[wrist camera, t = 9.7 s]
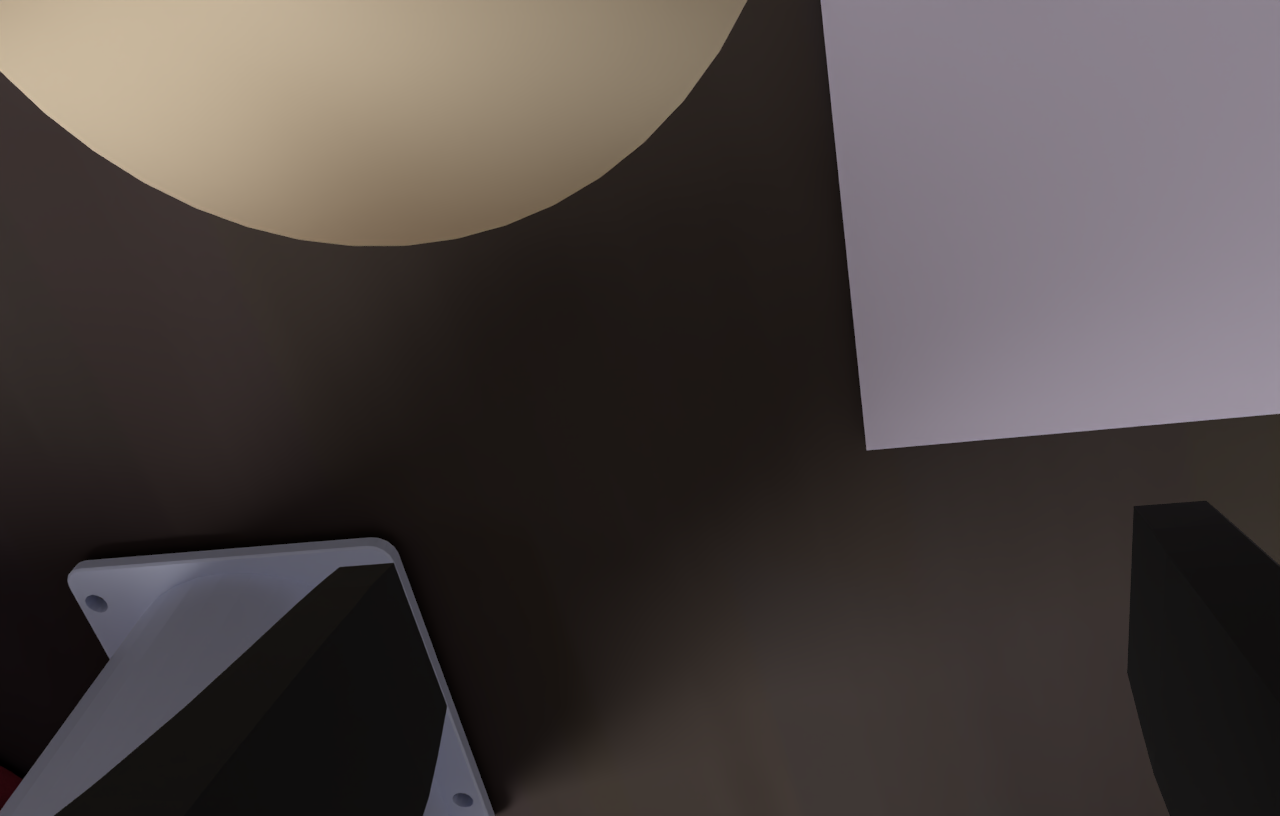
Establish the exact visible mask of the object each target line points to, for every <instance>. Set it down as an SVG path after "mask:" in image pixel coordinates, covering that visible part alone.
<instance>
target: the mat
mask: <svg viewBox="0 0 1280 816" xmlns="http://www.w3.org/2000/svg"><path fill="white" fill-rule="evenodd" d="M821 10H822V19H823V29H824V39H825V49H826V58H827V68H828V78H829V88H830V97H831V107H832V117H833V127H834V137H835V146H836V156H837V166H838V176H839V185H840V195H841V205H842V215H843V224H844V234H845V244H846V254H847V264H848V273H849V283H850V293H851V303H852V312H853V322H854V332H855V342H856V351H857V361H858V371H859V381H860V391H861V400H862V410H863V420H864V430H865V439H866V449H867V450H877V449H888V448H900V447H911V446H922V445H933V444H944V443H956V442H967V441H978V440H989V439H1000V438H1012V437H1023V436H1034V435H1045V434H1056V433H1068V432H1079V431H1090V430H1101V429H1113V428H1124V427H1135V426H1146V425H1157V424H1169V423H1180V422H1191V421H1202V420H1213V419H1225V418H1236V417H1247V416H1258V415H1269V414H1280V0H821Z"/></svg>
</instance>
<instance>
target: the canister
mask: <svg viewBox="0 0 1280 816" xmlns="http://www.w3.org/2000/svg"><path fill="white" fill-rule="evenodd" d="M22 780H23V779H22V778H21V777H19V776H17V775H16V774H14V773H13V772H11V771H9V770H8V769H6V768H4V767H2V766H1V765H0V810H1V809H2V808H3V806H4V805H5V804H6V802H7V801H8V799H9V798H10V797H11V795H12V794H13V793H14V791H15V790H16V788H17V787H18V786H19V784H20V783H21V781H22Z"/></svg>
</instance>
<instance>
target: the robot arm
mask: <svg viewBox="0 0 1280 816" xmlns="http://www.w3.org/2000/svg"><path fill="white" fill-rule="evenodd" d="M67 582H68V585H69V588H70V589H71V591H72V593H73V595H74V596H75V598H76V600H77V602H78V604H79V605H80V607H81V609H82V611H83V612H84V614H85V616H86V618H87V620H88V621H89V623H90V625H91V627H92V628H93V630H94V632H95V634H96V636H97V637H98V639H99V641H100V643H101V645H102V646H103V648H104V650H105V652H106V653H107V655H108V657H109V659H110V660H109V661H108V663H107V664H106V665H105V667H104V668H103V670H102V671H101V672H100V674H99V675H98V677H97V678H96V679H95V681H94V682H93V683H92V685H91V686H90V688H89V689H88V690H87V692H86V693H85V694H84V696H83V697H82V699H81V700H80V701H79V703H78V704H77V706H76V707H75V708H74V710H73V711H72V712H71V714H70V715H69V717H68V718H67V719H66V721H65V722H64V723H63V725H62V726H61V728H60V729H59V730H58V732H57V733H56V735H55V736H54V737H53V739H52V740H51V741H50V743H49V744H48V746H47V747H46V748H45V750H44V751H43V752H42V754H41V755H40V757H39V758H38V759H37V761H36V762H35V764H34V765H33V766H32V768H31V769H30V770H29V772H28V773H27V775H26V776H25V777H24V779H23V780H22V781H21V783H20V784H19V786H18V787H17V788H16V790H15V791H14V793H13V794H12V795H11V797H10V798H9V799H8V801H7V802H6V804H5V805H4V806H3V808H2V809H1V810H0V816H495V814H494V811H493V809H492V806H491V803H490V800H489V798H488V795H487V792H486V790H485V787H484V784H483V781H482V779H481V776H480V773H479V771H478V768H477V765H476V762H475V760H474V757H473V754H472V752H471V749H470V746H469V743H468V741H467V738H466V735H465V732H464V730H463V727H462V724H461V722H460V719H459V716H458V713H457V711H456V708H455V705H454V703H453V700H452V697H451V694H450V692H449V689H448V686H447V684H446V681H445V678H444V675H443V673H442V670H441V667H440V665H439V662H438V659H437V656H436V654H435V651H434V648H433V646H432V643H431V640H430V637H429V635H428V632H427V629H426V627H425V624H424V621H423V618H422V616H421V613H420V610H419V608H418V605H417V602H416V599H415V597H414V594H413V591H412V589H411V586H410V583H409V580H408V578H407V575H406V572H405V570H404V567H403V564H402V561H401V559H400V556H399V553H398V552H397V550H396V549H395V547H394V546H393V545H392V544H390V543H389V542H388V541H386V540H383V539H381V538H374V537H367V538H355V539H342V540H330V541H318V542H305V543H293V544H281V545H268V546H256V547H244V548H232V549H219V550H207V551H195V552H182V553H170V554H158V555H146V556H133V557H121V558H109V559H96V560H86V561H82V562H79V563H78V564H77V565H76V566H75V567H74V569H73V570H72V571H71V572H70V573H69V574H68V579H67ZM98 596H99V597H101V598H103V599H104V600H103V599H101V598H99V597H98ZM1127 673H1128V677H1129V681H1130V685H1131V689H1132V693H1133V697H1134V701H1135V705H1136V709H1137V712H1138V716H1139V720H1140V724H1141V728H1142V732H1143V736H1144V739H1145V743H1146V747H1147V750H1148V754H1149V758H1150V762H1151V765H1152V769H1153V773H1154V775H1155V778H1156V781H1157V783H1158V786H1159V788H1160V791H1161V794H1162V796H1163V799H1164V801H1165V804H1166V807H1167V809H1168V812H1169V814H1170V816H1280V565H1279V564H1278V563H1276V562H1275V561H1274V560H1273V559H1272V558H1271V557H1270V556H1269V555H1267V554H1266V553H1265V552H1264V551H1263V550H1262V549H1261V548H1260V547H1258V546H1257V545H1256V544H1255V543H1254V542H1253V541H1252V540H1251V539H1249V538H1248V537H1247V536H1246V535H1245V534H1244V533H1243V532H1242V531H1241V530H1239V529H1238V528H1237V527H1236V526H1235V525H1234V524H1233V523H1232V522H1230V521H1229V520H1228V519H1227V518H1226V517H1225V516H1224V515H1222V514H1221V513H1220V512H1219V511H1218V510H1217V509H1215V508H1214V507H1213V506H1212V505H1211V504H1209V503H1208V502H1207V501H1198V502H1184V503H1171V504H1158V505H1145V506H1134V517H1133V542H1132V568H1131V593H1130V619H1129V644H1128V670H1127ZM463 793H464V794H463Z"/></svg>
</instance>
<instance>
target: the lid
mask: <svg viewBox="0 0 1280 816" xmlns="http://www.w3.org/2000/svg"><path fill="white" fill-rule="evenodd" d="M746 2H747V0H0V71H1V72H2V73H3V74H4V75H5V76H6V77H7V78H8V79H9V80H10V81H11V82H12V83H13V84H14V85H16V86H17V87H18V88H19V89H20V90H21V91H22V92H23V93H24V94H25V95H26V96H27V97H28V98H29V99H30V100H31V101H33V102H34V103H35V104H36V105H37V106H38V107H39V108H40V109H41V110H42V111H43V112H44V113H45V114H47V115H48V116H49V117H50V118H52V119H53V120H54V121H56V122H57V123H58V124H59V125H61V126H62V127H63V128H65V129H66V130H67V131H69V132H70V133H71V134H72V135H74V136H75V137H76V138H78V139H79V140H80V141H81V142H83V143H84V144H85V145H87V146H88V147H89V148H90V149H92V150H93V151H94V152H96V153H98V154H99V155H101V156H102V157H104V158H106V159H107V160H109V161H110V162H112V163H114V164H115V165H117V166H118V167H120V168H122V169H123V170H125V171H126V172H128V173H129V174H131V175H133V176H134V177H136V178H137V179H139V180H141V181H142V182H144V183H146V184H148V185H150V186H152V187H154V188H156V189H158V190H160V191H162V192H164V193H166V194H168V195H170V196H172V197H174V198H176V199H178V200H180V201H182V202H184V203H186V204H188V205H190V206H192V207H194V208H197V209H200V210H202V211H205V212H208V213H211V214H213V215H216V216H219V217H221V218H224V219H227V220H230V221H232V222H235V223H238V224H241V225H243V226H246V227H250V228H254V229H258V230H262V231H266V232H270V233H274V234H278V235H283V236H287V237H291V238H295V239H299V240H306V241H315V242H323V243H331V244H340V245H348V246H407V245H415V244H422V243H430V242H437V241H445V240H452V239H458V238H462V237H465V236H469V235H473V234H476V233H480V232H484V231H487V230H491V229H495V228H498V227H502V226H506V225H508V224H511V223H513V222H515V221H518V220H520V219H522V218H525V217H527V216H529V215H532V214H534V213H536V212H539V211H541V210H544V209H546V208H548V207H551V206H553V205H555V204H557V203H558V202H560V201H562V200H563V199H565V198H567V197H568V196H570V195H572V194H573V193H575V192H577V191H579V190H580V189H582V188H584V187H585V186H587V185H589V184H590V183H592V182H594V181H595V180H597V179H599V178H600V177H602V176H603V175H604V174H605V173H607V172H608V171H609V170H610V169H612V168H613V167H614V166H615V165H617V164H618V163H619V162H620V161H622V160H623V159H624V158H625V157H627V156H628V155H629V154H630V153H632V152H633V151H634V150H635V149H637V148H638V147H639V146H640V145H642V144H643V143H644V142H645V141H646V140H647V139H648V138H649V137H650V136H651V135H652V134H653V133H654V132H655V130H656V129H657V128H658V127H659V126H660V125H661V124H662V123H663V122H664V121H665V120H666V119H667V118H668V117H669V116H670V115H671V114H672V113H673V111H674V110H675V109H676V108H677V107H678V106H679V105H680V104H681V103H682V102H683V101H684V100H685V98H686V97H687V96H688V94H689V93H690V92H691V90H692V89H693V87H694V86H695V85H696V83H697V82H698V80H699V79H700V78H701V76H702V75H703V74H704V72H705V71H706V69H707V68H708V67H709V65H710V64H711V62H712V61H713V60H714V58H715V57H716V56H717V54H718V53H719V51H720V50H721V48H722V46H723V44H724V42H725V41H726V39H727V37H728V35H729V33H730V31H731V30H732V28H733V26H734V24H735V22H736V20H737V18H738V17H739V15H740V13H741V11H742V9H743V7H744V6H745V4H746Z"/></svg>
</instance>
